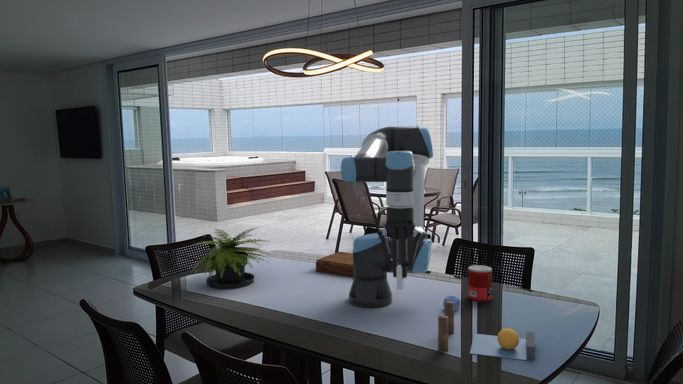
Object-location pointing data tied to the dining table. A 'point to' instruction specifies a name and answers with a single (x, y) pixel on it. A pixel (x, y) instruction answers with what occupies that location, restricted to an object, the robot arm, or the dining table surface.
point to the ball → (508, 339)
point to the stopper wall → (530, 345)
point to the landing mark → (497, 348)
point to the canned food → (480, 283)
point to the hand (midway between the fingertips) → (400, 288)
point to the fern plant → (229, 261)
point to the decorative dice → (453, 299)
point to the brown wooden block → (336, 264)
